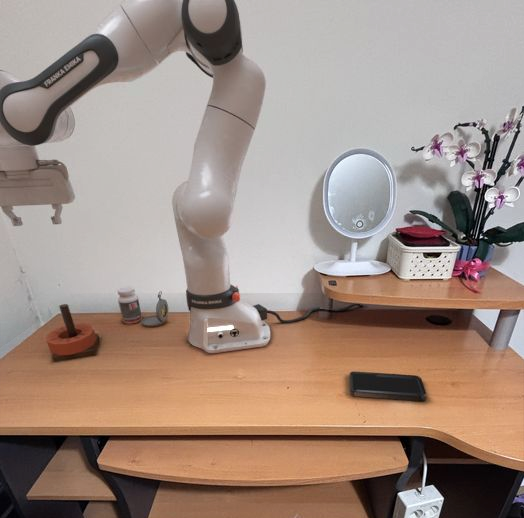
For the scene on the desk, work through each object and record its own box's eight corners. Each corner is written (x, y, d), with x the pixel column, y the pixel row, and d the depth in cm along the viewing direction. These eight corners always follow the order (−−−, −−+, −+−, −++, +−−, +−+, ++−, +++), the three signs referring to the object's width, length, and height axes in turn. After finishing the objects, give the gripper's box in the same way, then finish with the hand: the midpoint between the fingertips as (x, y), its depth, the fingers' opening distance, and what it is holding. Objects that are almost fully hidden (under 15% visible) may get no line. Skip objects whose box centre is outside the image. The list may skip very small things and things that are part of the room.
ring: (101, 333, 104) (98, 322, 103) (88, 353, 94) (84, 342, 93) (59, 335, 104) (56, 325, 102) (42, 356, 94) (38, 345, 92)
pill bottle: (146, 319, 115) (139, 288, 110) (129, 325, 111) (122, 294, 106) (135, 314, 118) (129, 284, 113) (119, 320, 114) (111, 289, 109)
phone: (427, 397, 75) (350, 391, 78) (426, 401, 76) (350, 395, 78) (420, 375, 82) (349, 370, 84) (419, 379, 82) (349, 374, 85)
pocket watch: (140, 320, 114) (133, 289, 109) (168, 315, 117) (163, 284, 112) (144, 331, 107) (137, 299, 102) (173, 325, 110) (168, 293, 105)
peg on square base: (99, 337, 105) (87, 295, 99) (95, 355, 97) (82, 310, 90) (60, 343, 103) (45, 301, 96) (53, 361, 94) (37, 316, 88)
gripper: (69, 158, 87) (85, 220, 94) (-20, 161, 87) (3, 223, 94) (58, 159, 81) (76, 225, 88) (-38, 163, 81) (-12, 229, 88)
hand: (37, 224), depth 91 cm, fingers open, 8 cm apart
